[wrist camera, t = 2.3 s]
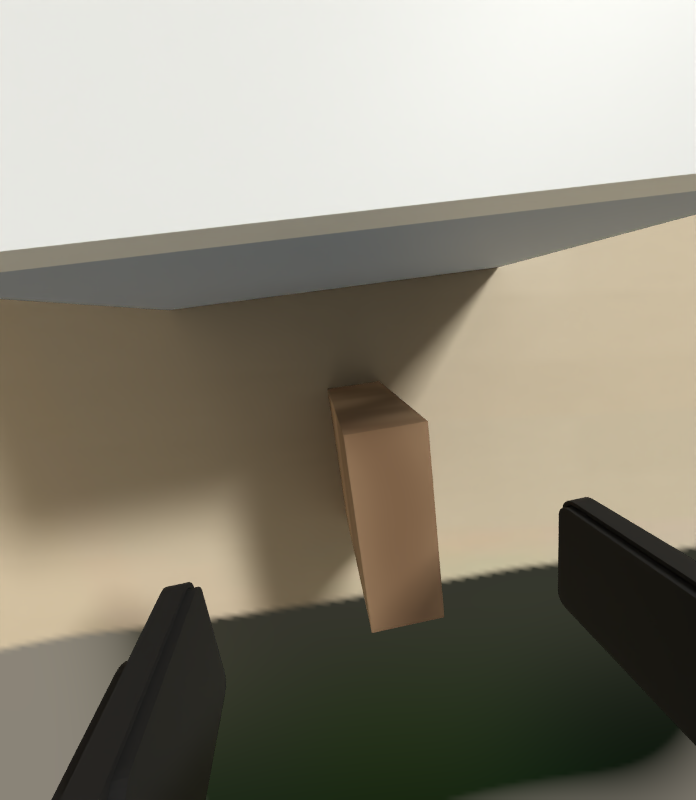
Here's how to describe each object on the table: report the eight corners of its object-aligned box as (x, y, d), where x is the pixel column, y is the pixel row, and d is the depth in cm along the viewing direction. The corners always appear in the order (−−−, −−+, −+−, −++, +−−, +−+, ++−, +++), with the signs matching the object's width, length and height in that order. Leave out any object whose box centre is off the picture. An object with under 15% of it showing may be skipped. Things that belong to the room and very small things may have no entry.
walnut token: (378, 381, 17) (427, 421, 10) (393, 509, 19) (444, 616, 12) (327, 388, 17) (343, 435, 10) (347, 518, 19) (372, 632, 12)
